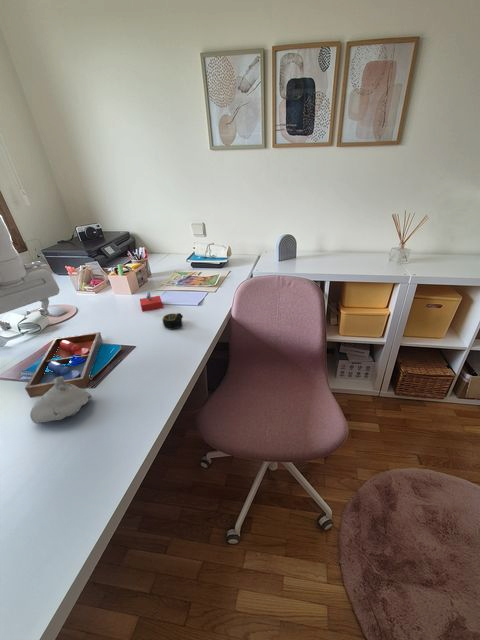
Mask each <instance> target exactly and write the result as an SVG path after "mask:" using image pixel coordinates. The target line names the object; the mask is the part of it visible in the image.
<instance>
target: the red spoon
mask: <svg viewBox="0 0 480 640" xmlns="http://www.w3.org/2000/svg"><path fill="white" fill-rule="evenodd" d="M60 347H61V348H63V349H65V350H67V351H70V352H72V353H74V355H88V354H89V353H90V352H89V350H88V349H87V348H81V347H80V346H79V345H77V344H74V343H72V342H69V341H67V340H63V341H61V342H60Z"/></svg>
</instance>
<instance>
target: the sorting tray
mask: <svg viewBox="0 0 480 640" xmlns="http://www.w3.org/2000/svg"><path fill="white" fill-rule="evenodd" d="M63 340H67V341H69V342H72V343H74V344H77V345H79V346H80V347H81V348H87V349H88V350H89V352H90V353H89V354H88V355H81V356H74V357H79V358H84V359H85V360H86V361H85V362H84V363H82V364H79V365H76V366H70V365H67V364H68V363H69V361H70V359H71V358H73V357H71V356H73V355H74V353H72V352H70V351H67V350H65V349H63V348H61V347H60V342H61V341H63ZM102 343H103V337H102V334H101V332H92V333H84V334H77V335H69V336H62V337H55V338H53V340H52V342H51V343H50V344H49V347H48V348H47V350H46V352H45V354H44V355H43V357H42V359H41V361H39V364H38V366H37V367H36V369H35V371H34V372H33V374H32V375H31V377H30V378H29V380H28V382H27V384H26V386H25V388H24V390H25V392H26V393H27V394H28V397H30V398H34V397H35V398H36V397H42V396H43V395H44V394H45V393H46V392H48V391H49V390H50V389H51V388H52V387H53V386H54V379H55V378H57V377H60V376H61V375H59V374H57V373H55V372H51V371H49V372H45V370H46V368H47V366H48V364H49V363H50V362H52V361H56V362H58V363H60V364H66V365H65V366H66V367H68V368H70V369H71V371H79V372H80V375H81V374H82V375H81V377H80V378H75V379H69V380H64V381H65V383H70V384H72V385H75V386H76V387H78V388H81V389H87V388H88V385H89V383H90V380H89V375H90V372H91V370H92V367H93V365H94V362H95V363H96V361H95V359H96V360H97V358H96V356H97V357H98V355H97V352H98V349H99V346H100V344H101V345H102ZM58 347H59V348H58ZM100 347H101V346H100ZM57 349H58V350H57ZM99 350H100V349H99ZM56 351H57V352H56ZM98 353H99V352H98ZM54 354H55V355H54ZM57 355H58V356H57ZM53 356H55V357H53ZM56 356H57V357H60V356H61V357H60V358H61V359H54V360H51V359H52V358H57V357H56ZM94 366H95V365H94ZM44 373H45V374H44Z"/></svg>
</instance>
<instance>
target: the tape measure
mask: <svg viewBox="0 0 480 640" xmlns="http://www.w3.org/2000/svg"><path fill="white" fill-rule="evenodd" d="M183 318H184V315H183V314H182V313H181V312H178V313H168V314H165V315H164V316H163V317H162V319H161V320H162V325H163V327H164V328H166V329H169V330H171V329H172V330H173V329H178V328H181V327H182V326H183V323H182V322H183Z"/></svg>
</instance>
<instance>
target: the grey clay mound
mask: <svg viewBox="0 0 480 640" xmlns="http://www.w3.org/2000/svg"><path fill="white" fill-rule="evenodd" d="M89 399H93V396H92V394H91V392H89V391H88V390H86V389H85V388H82V389H81V388H78V387H76V386H75V385H72V384H70V383H65V381H64V378H63V376H60V377H57V378H55V379H54V386H53V387H52V388H51V389H50V390H49V391H48V392H46V393H45V394H44V395H41V396H40V397H39V399H38V400H37V401H36V402H35V403H34V404H33V406H32V408H31V410H30V414H29V415H30V420H31V422H32V423H34V424H40V423H48V422H52V421H61V420H63V419H64V418H66V417H70V416H71V417H73V416H74V415H76V414H77V413H78V412H79V411H80V410H81V407H82V406H84V405H86V404H87V403H88V401H89Z"/></svg>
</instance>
